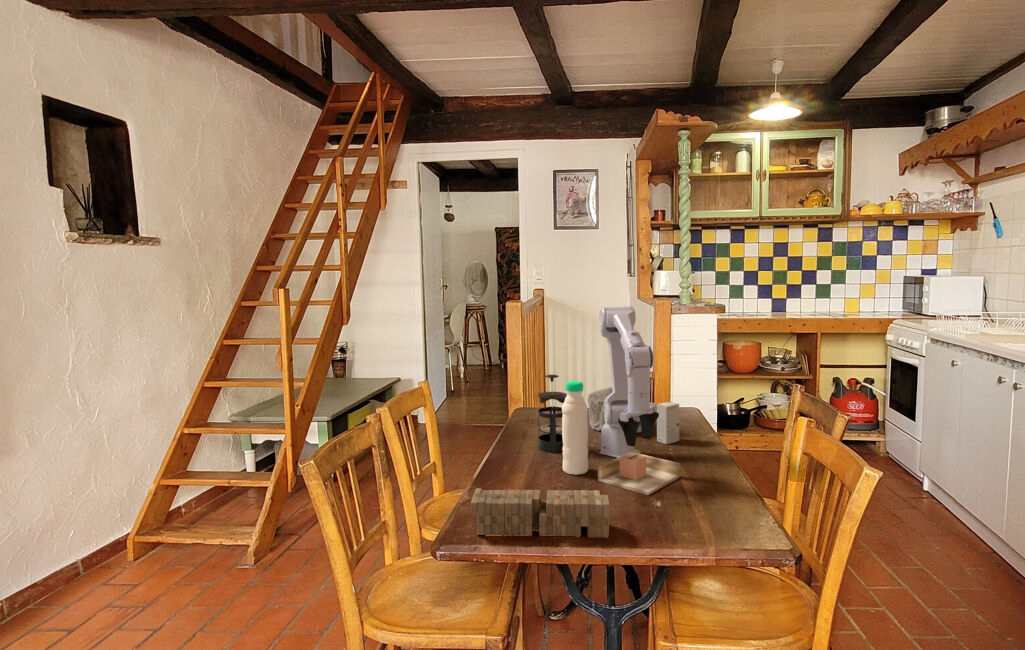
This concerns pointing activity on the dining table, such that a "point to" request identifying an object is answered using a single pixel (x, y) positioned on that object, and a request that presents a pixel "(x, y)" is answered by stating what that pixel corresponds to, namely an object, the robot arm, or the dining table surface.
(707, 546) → the dining table surface
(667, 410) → the skincare box
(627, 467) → the terracotta cube
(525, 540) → the dining table surface
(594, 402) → the grey brown chunky block
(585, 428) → the milk bottle
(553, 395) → the french press
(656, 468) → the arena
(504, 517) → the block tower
